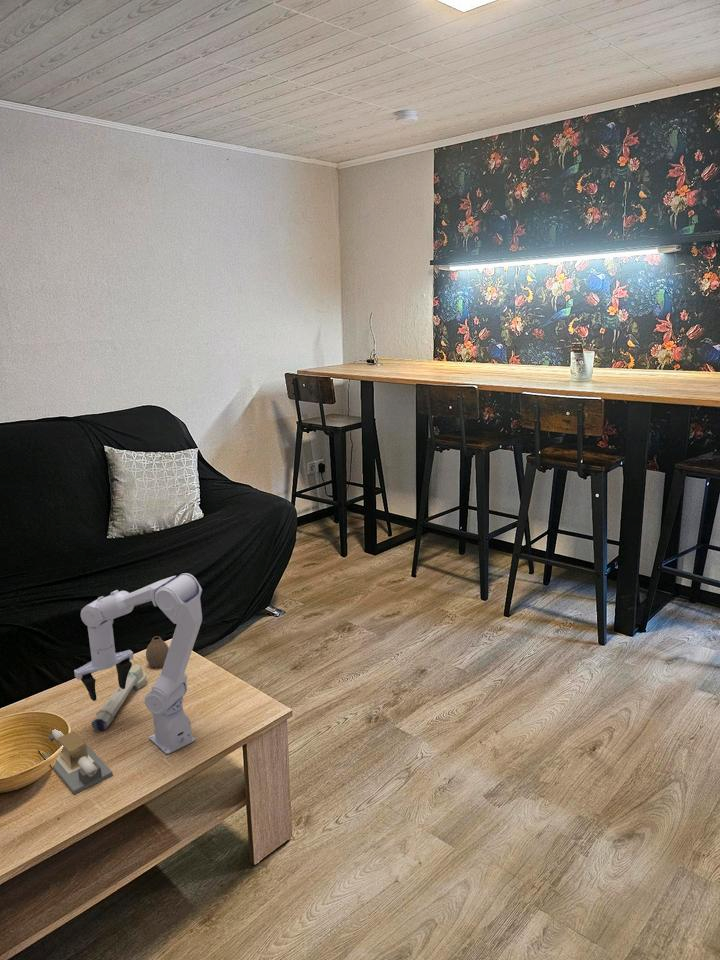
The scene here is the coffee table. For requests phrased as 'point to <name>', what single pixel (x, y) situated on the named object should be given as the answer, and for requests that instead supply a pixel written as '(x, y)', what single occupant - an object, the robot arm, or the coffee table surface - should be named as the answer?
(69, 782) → the coupling bed
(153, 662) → the vase
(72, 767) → the block
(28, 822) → the coffee table surface
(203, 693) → the coffee table surface
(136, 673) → the grey long handheld tool
